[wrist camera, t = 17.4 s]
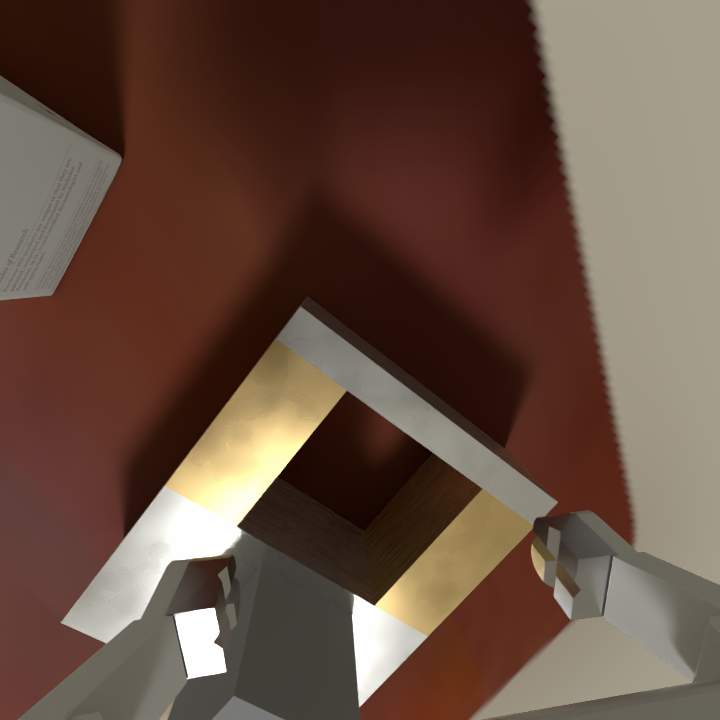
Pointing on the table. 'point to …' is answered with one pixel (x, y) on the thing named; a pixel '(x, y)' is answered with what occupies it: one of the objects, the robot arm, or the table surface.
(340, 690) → the nut block
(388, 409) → the grey yellow rectangular frame
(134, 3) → the table surface
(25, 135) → the supplement box
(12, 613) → the table surface
